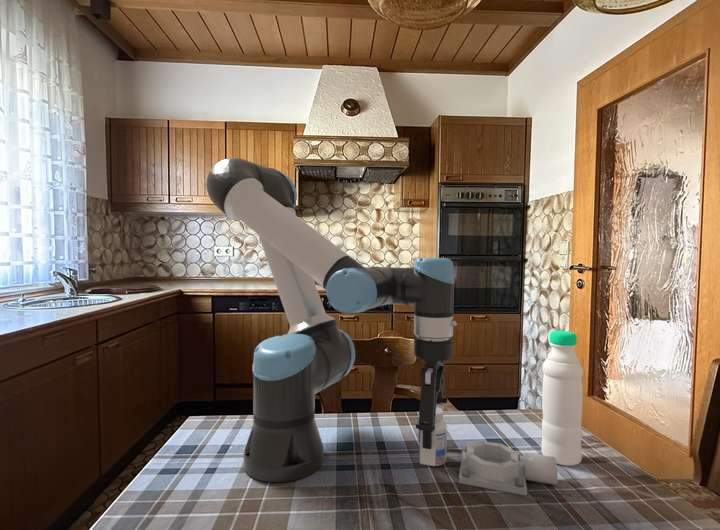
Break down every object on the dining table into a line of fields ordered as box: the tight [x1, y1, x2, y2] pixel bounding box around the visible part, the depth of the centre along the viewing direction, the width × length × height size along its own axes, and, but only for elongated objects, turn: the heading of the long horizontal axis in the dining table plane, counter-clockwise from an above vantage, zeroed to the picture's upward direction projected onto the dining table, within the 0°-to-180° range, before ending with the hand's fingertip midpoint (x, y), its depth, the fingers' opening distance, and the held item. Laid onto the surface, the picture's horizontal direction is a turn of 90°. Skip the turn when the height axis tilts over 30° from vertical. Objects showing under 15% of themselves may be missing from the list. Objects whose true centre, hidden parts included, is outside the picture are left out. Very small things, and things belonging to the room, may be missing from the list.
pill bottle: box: [418, 407, 448, 467], centre depth 75 cm, size 6×5×10 cm
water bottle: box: [540, 330, 584, 467], centre depth 76 cm, size 7×7×25 cm
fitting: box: [458, 440, 558, 497], centre depth 70 cm, size 16×11×4 cm
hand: (432, 448), depth 75 cm, fingers open, 11 cm apart
